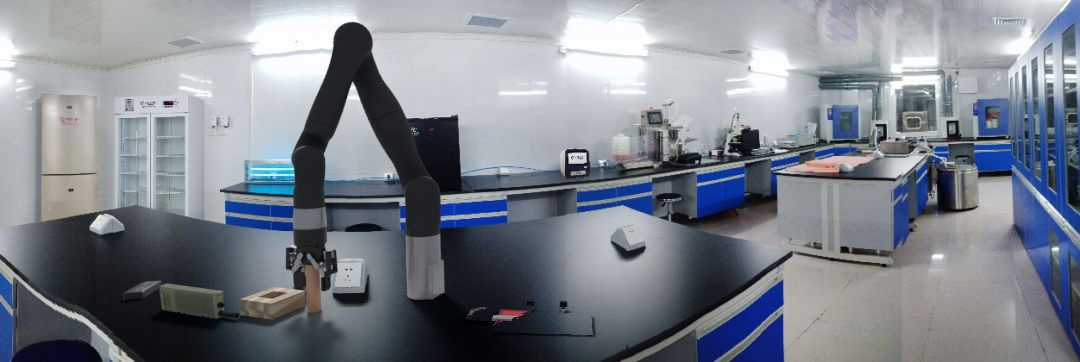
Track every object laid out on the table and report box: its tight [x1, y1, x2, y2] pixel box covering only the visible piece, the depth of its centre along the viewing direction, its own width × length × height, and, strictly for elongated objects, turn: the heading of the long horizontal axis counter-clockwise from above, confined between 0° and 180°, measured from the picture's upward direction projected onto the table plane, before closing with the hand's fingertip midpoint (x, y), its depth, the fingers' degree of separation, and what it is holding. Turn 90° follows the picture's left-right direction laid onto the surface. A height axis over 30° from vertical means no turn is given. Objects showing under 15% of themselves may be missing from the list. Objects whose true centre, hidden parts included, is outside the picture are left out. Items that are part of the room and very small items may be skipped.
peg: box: [305, 265, 322, 314], centre depth 116 cm, size 3×3×12 cm
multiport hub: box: [122, 280, 162, 301], centre depth 130 cm, size 4×11×2 cm, turn 17°
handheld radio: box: [158, 283, 241, 319], centre depth 114 cm, size 7×3×25 cm
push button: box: [291, 260, 307, 294], centre depth 129 cm, size 7×5×10 cm
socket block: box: [239, 286, 306, 320], centre depth 117 cm, size 10×10×4 cm
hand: (312, 288), depth 116 cm, fingers open, 8 cm apart
